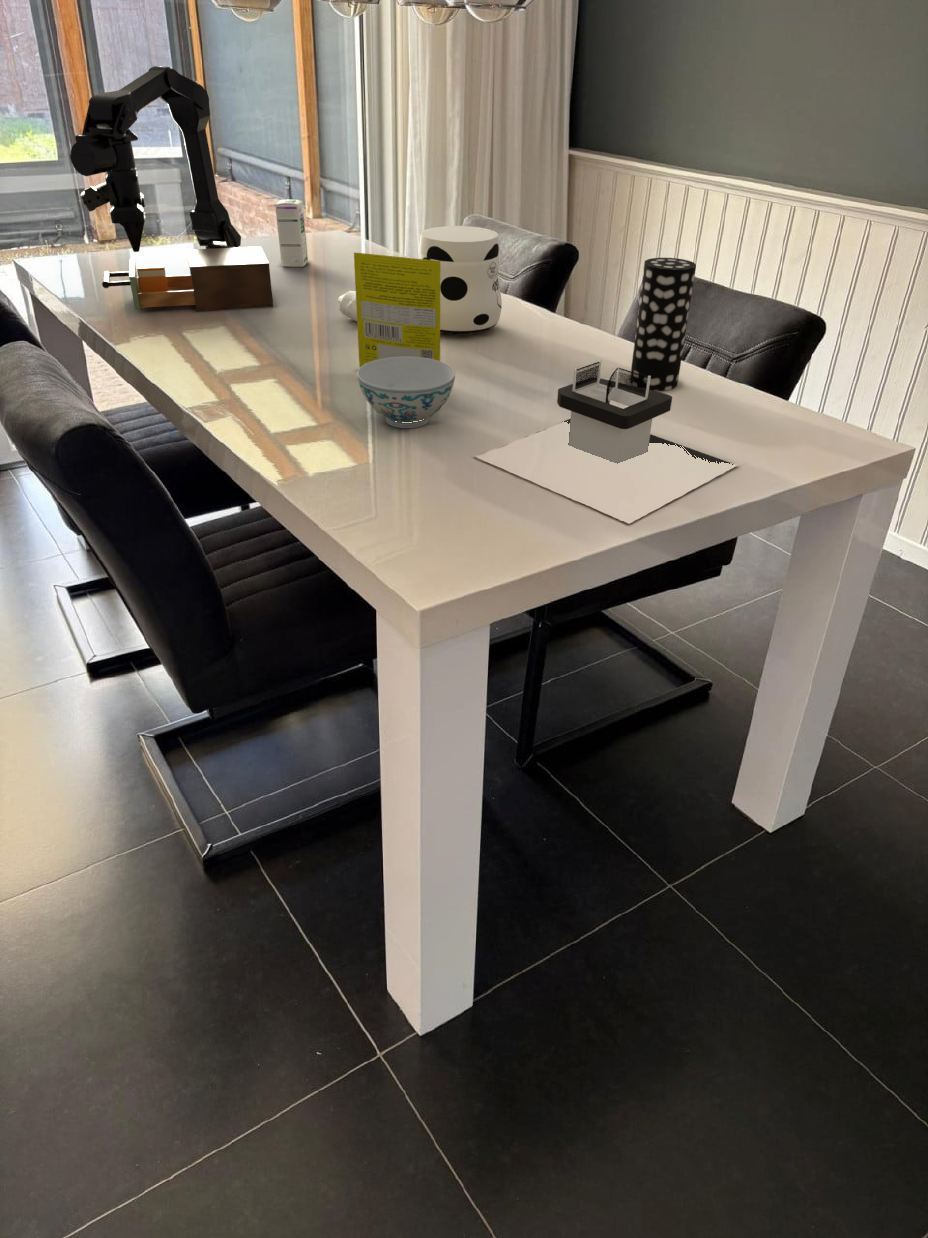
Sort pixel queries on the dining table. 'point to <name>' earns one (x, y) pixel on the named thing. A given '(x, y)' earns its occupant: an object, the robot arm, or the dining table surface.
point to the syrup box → (291, 233)
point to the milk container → (465, 276)
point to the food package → (397, 307)
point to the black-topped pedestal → (615, 415)
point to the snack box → (152, 278)
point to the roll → (348, 305)
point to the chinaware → (406, 388)
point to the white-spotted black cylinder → (662, 321)
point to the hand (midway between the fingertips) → (136, 251)
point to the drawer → (176, 295)
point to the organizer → (230, 278)
